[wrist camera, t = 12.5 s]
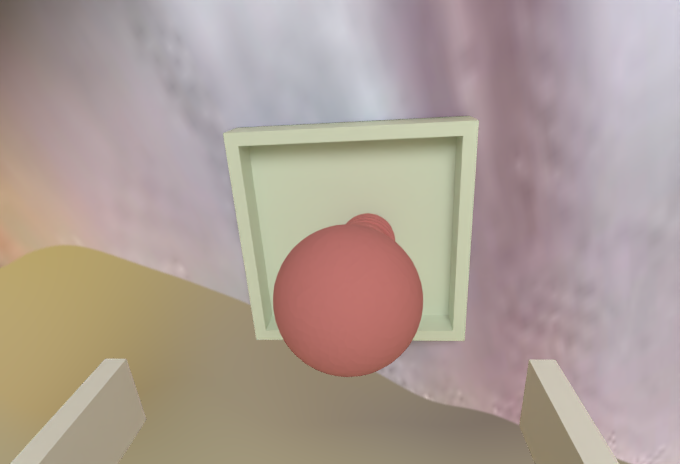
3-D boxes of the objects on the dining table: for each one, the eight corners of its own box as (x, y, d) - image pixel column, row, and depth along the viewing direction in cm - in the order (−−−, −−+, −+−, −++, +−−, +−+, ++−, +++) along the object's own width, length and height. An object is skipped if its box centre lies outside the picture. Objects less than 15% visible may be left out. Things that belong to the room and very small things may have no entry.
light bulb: (291, 236, 28) (218, 341, 17) (358, 160, 25) (324, 225, 14) (367, 299, 29) (346, 438, 18) (439, 232, 26) (467, 346, 15)
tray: (265, 319, 31) (256, 339, 29) (236, 127, 26) (222, 133, 24) (457, 319, 30) (464, 340, 27) (469, 115, 24) (478, 120, 22)
